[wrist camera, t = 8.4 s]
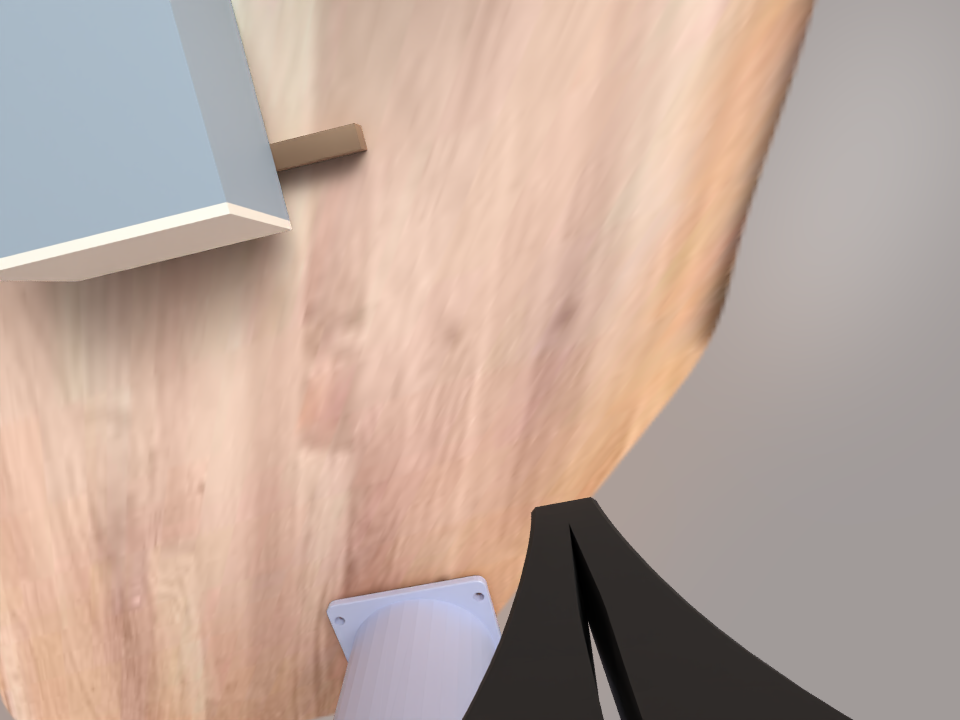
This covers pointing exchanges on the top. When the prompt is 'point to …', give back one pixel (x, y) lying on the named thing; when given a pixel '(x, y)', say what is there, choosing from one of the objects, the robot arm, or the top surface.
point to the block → (127, 137)
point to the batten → (318, 147)
